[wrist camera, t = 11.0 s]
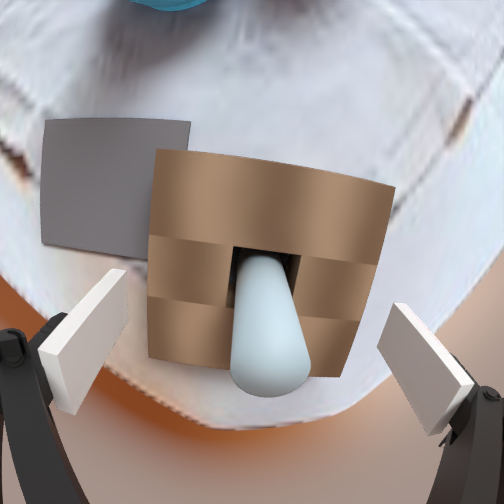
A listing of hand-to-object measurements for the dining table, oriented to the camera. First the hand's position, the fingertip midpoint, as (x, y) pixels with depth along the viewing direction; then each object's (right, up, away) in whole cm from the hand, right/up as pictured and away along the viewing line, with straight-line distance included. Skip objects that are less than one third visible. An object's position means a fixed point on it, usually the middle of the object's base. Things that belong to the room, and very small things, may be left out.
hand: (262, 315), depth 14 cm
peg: (0, +2, +8) cm, 8 cm away
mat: (-11, +8, +6) cm, 15 cm away
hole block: (0, +2, +8) cm, 8 cm away
